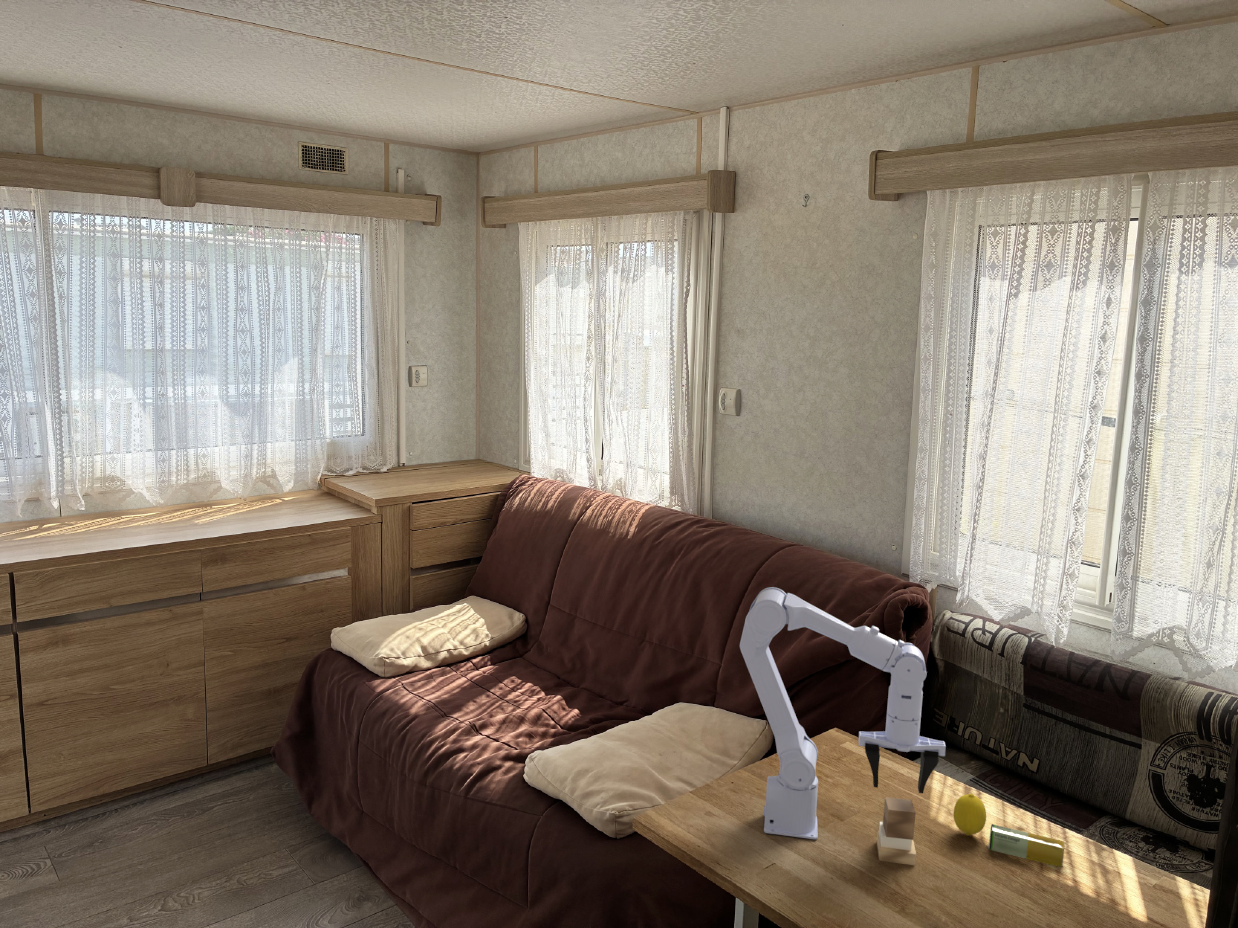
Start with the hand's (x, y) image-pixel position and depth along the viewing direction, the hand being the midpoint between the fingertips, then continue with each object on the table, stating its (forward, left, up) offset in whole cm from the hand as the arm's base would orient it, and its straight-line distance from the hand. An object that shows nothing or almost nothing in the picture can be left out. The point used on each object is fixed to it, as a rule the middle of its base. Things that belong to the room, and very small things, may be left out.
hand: (897, 787), depth 164 cm
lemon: (+14, +6, -11) cm, 18 cm away
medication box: (+23, +2, -11) cm, 25 cm away
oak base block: (0, -4, -11) cm, 11 cm away
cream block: (0, -3, -8) cm, 9 cm away
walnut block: (0, -4, -6) cm, 7 cm away
